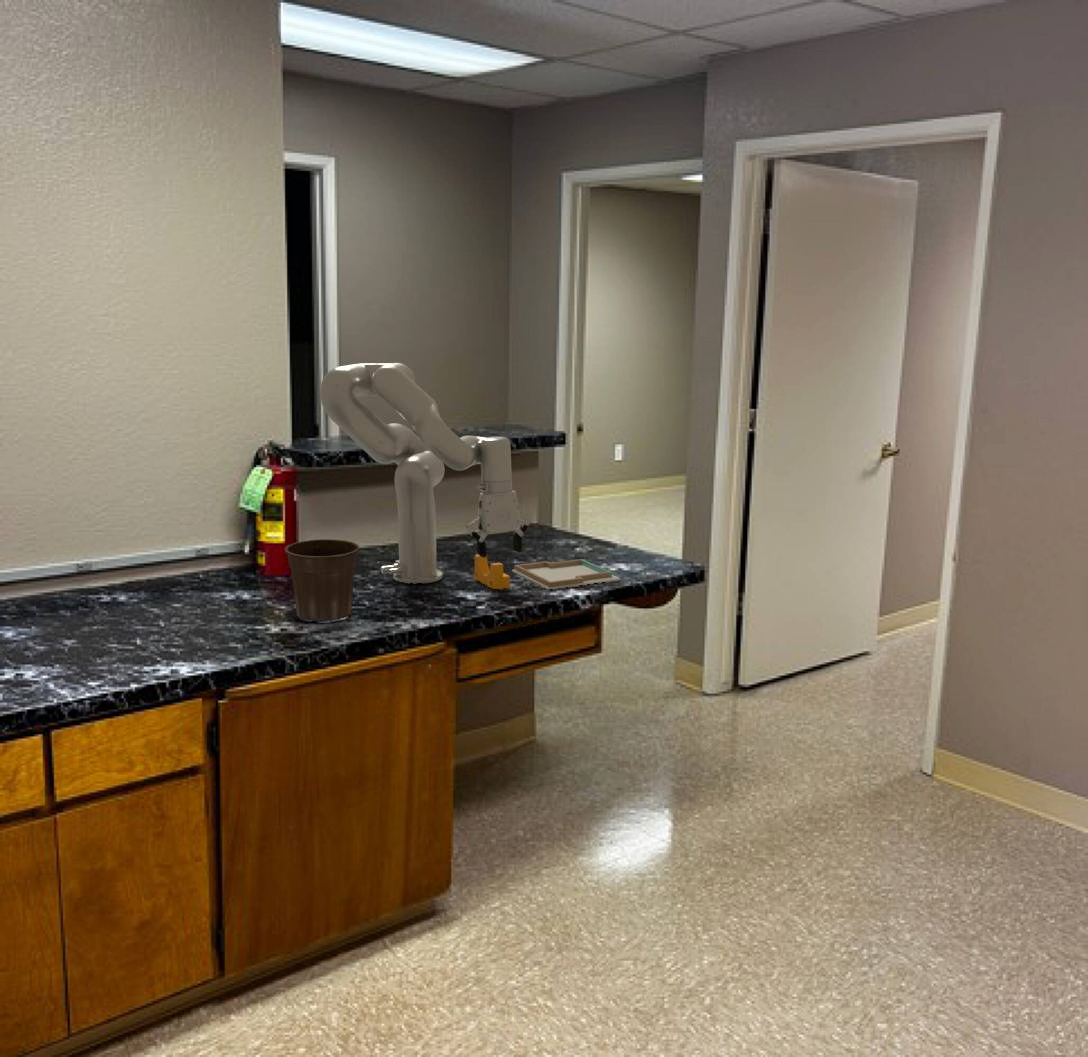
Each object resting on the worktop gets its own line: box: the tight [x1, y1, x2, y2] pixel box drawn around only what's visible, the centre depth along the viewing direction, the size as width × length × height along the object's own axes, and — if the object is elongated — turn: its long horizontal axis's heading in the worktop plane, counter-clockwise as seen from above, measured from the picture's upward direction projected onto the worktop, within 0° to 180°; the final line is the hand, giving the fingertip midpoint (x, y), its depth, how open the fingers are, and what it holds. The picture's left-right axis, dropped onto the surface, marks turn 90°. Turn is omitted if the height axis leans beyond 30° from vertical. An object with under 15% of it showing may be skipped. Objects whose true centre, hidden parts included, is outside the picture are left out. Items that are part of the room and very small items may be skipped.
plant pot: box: [284, 538, 360, 622], centre depth 242 cm, size 16×16×16 cm
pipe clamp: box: [474, 554, 511, 590], centre depth 272 cm, size 12×4×6 cm, turn 27°
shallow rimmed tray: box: [511, 558, 621, 591], centre depth 280 cm, size 21×20×2 cm
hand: (500, 553), depth 271 cm, fingers open, 9 cm apart
